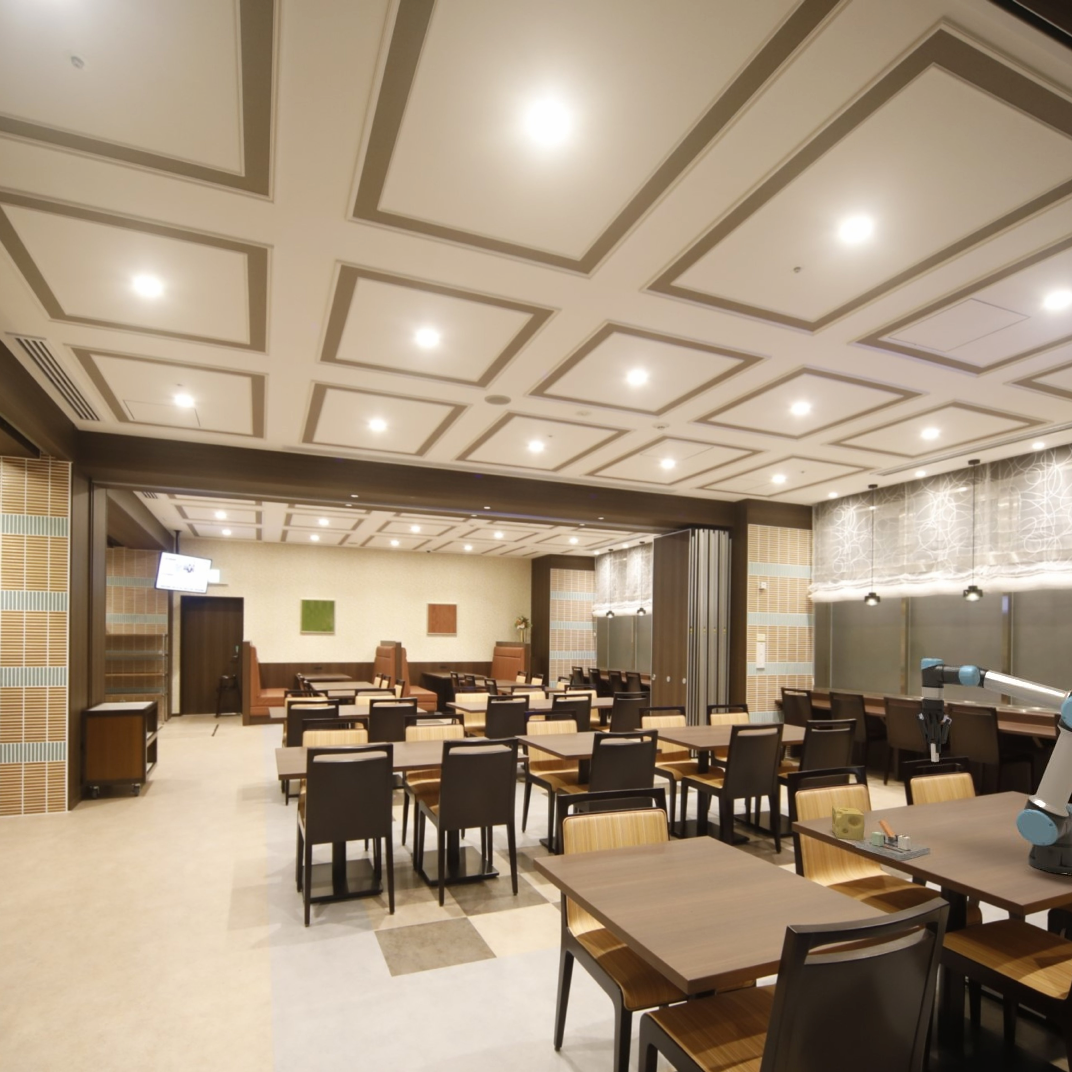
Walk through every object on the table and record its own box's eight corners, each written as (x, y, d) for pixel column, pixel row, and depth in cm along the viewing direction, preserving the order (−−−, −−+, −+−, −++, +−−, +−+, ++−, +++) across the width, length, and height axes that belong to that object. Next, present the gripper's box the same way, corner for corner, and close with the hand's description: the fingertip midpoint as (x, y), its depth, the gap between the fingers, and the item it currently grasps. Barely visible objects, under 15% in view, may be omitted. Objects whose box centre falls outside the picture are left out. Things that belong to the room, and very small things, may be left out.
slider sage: (883, 845, 256) (883, 833, 256) (879, 846, 254) (879, 834, 255) (876, 842, 258) (875, 830, 259) (871, 843, 257) (871, 831, 257)
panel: (929, 853, 256) (929, 842, 257) (900, 861, 245) (900, 849, 246) (884, 840, 270) (884, 829, 271) (855, 847, 259) (855, 836, 260)
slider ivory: (910, 849, 253) (910, 836, 253) (906, 850, 251) (905, 837, 252) (902, 846, 255) (902, 834, 256) (898, 847, 254) (897, 835, 254)
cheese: (835, 838, 269) (835, 811, 271) (831, 830, 280) (830, 805, 281) (864, 841, 267) (864, 814, 268) (858, 834, 277) (858, 808, 279)
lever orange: (897, 839, 263) (885, 819, 267) (893, 840, 261) (880, 820, 266) (894, 840, 264) (882, 821, 268) (890, 842, 262) (878, 821, 267)
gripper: (955, 700, 267) (957, 763, 264) (920, 696, 278) (922, 757, 274) (946, 700, 263) (948, 765, 259) (911, 697, 273) (913, 759, 270)
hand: (935, 761), depth 267 cm, fingers closed
